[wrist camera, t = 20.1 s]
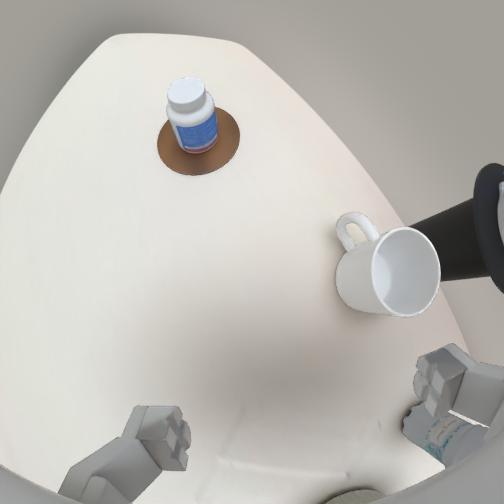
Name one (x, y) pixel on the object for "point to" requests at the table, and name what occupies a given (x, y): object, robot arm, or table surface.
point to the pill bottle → (192, 115)
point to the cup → (386, 269)
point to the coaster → (205, 160)
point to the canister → (357, 497)
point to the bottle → (443, 434)
